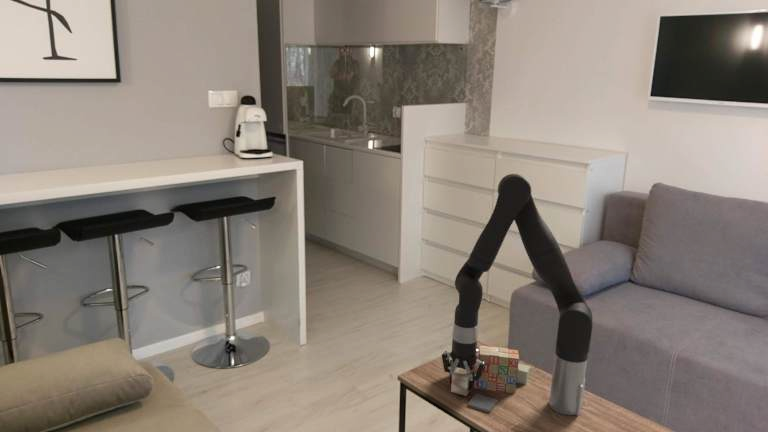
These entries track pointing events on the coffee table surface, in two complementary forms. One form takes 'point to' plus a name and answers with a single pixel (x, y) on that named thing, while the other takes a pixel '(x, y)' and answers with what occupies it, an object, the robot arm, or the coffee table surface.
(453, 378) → the cream block
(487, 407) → the charcoal pad
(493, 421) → the coffee table surface
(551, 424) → the coffee table surface
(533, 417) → the coffee table surface
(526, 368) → the sage green block
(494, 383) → the stack of blocks
